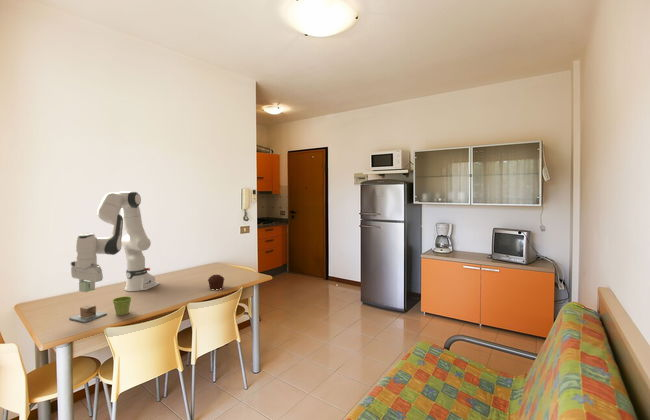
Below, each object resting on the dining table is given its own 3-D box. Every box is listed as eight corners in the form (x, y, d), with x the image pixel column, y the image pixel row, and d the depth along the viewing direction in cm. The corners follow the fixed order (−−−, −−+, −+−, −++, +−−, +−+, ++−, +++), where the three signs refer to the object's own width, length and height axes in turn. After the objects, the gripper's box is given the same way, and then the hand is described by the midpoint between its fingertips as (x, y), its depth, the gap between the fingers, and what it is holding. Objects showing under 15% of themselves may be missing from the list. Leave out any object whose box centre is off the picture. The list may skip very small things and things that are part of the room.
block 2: (89, 312, 176) (89, 304, 175) (96, 314, 174) (95, 305, 174) (80, 316, 171) (80, 307, 171) (86, 317, 169) (86, 308, 169)
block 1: (88, 288, 175) (88, 279, 174) (94, 289, 173) (94, 281, 173) (79, 291, 170) (79, 282, 170) (85, 292, 168) (85, 283, 168)
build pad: (92, 311, 180) (92, 309, 180) (106, 314, 176) (106, 312, 176) (69, 319, 169) (69, 317, 169) (84, 323, 165) (84, 321, 165)
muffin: (227, 287, 229) (227, 274, 228) (216, 292, 219) (216, 278, 218) (215, 285, 234) (215, 272, 233) (204, 289, 224) (204, 275, 223)
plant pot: (118, 310, 183) (118, 296, 182) (135, 310, 183) (135, 296, 183) (108, 317, 173) (108, 301, 173) (126, 316, 174) (126, 301, 174)
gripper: (105, 263, 170) (106, 288, 171) (80, 260, 177) (81, 283, 178) (94, 266, 164) (94, 291, 165) (68, 262, 171) (69, 286, 172)
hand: (87, 287), depth 172 cm, fingers closed on block 1, 5 cm apart
